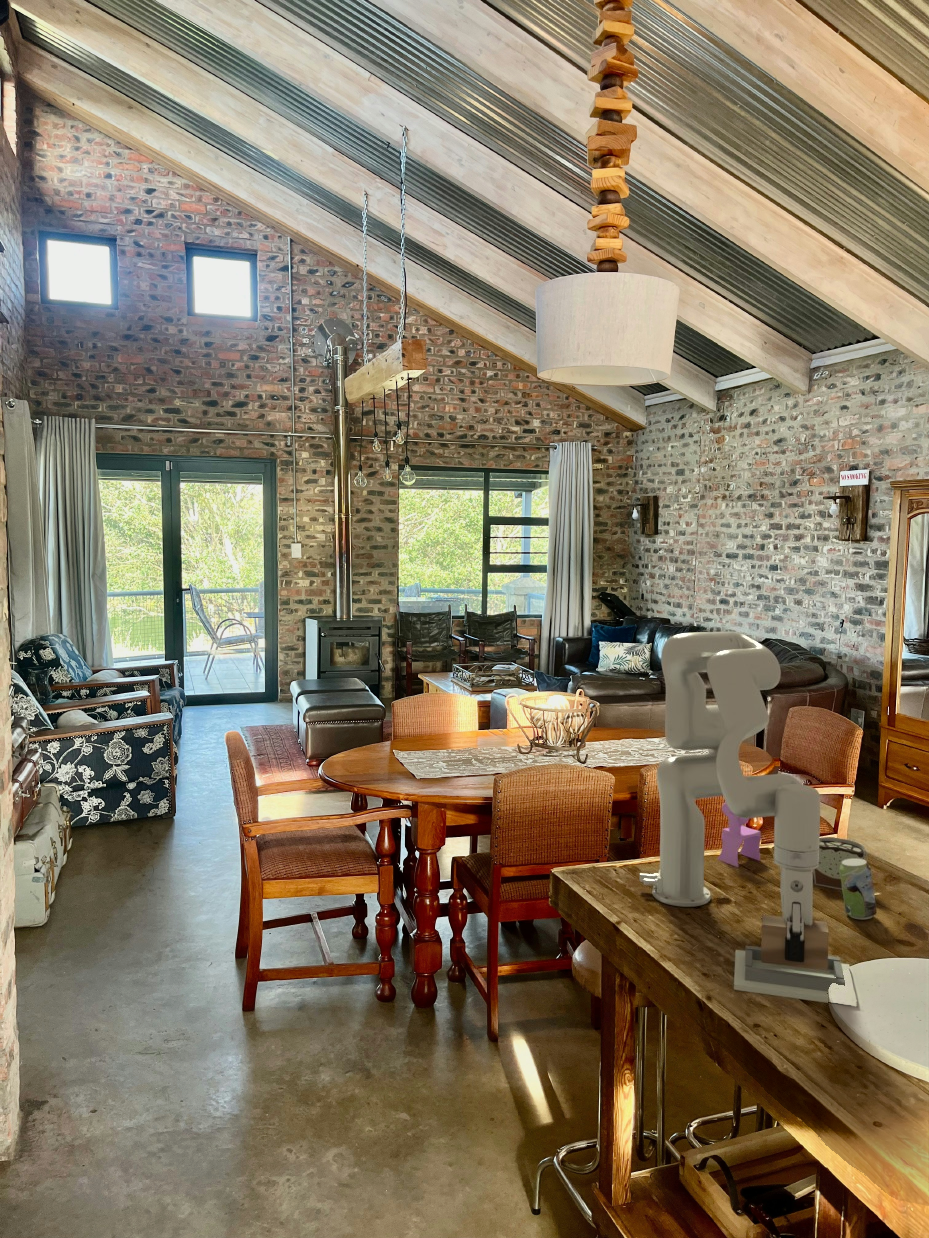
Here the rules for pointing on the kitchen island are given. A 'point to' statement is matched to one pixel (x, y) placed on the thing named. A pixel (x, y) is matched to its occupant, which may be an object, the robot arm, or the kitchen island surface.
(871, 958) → the kitchen island surface
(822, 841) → the food container
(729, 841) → the toy chair
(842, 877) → the beverage can
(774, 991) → the pocket board
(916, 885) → the kitchen island surface
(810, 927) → the key block
